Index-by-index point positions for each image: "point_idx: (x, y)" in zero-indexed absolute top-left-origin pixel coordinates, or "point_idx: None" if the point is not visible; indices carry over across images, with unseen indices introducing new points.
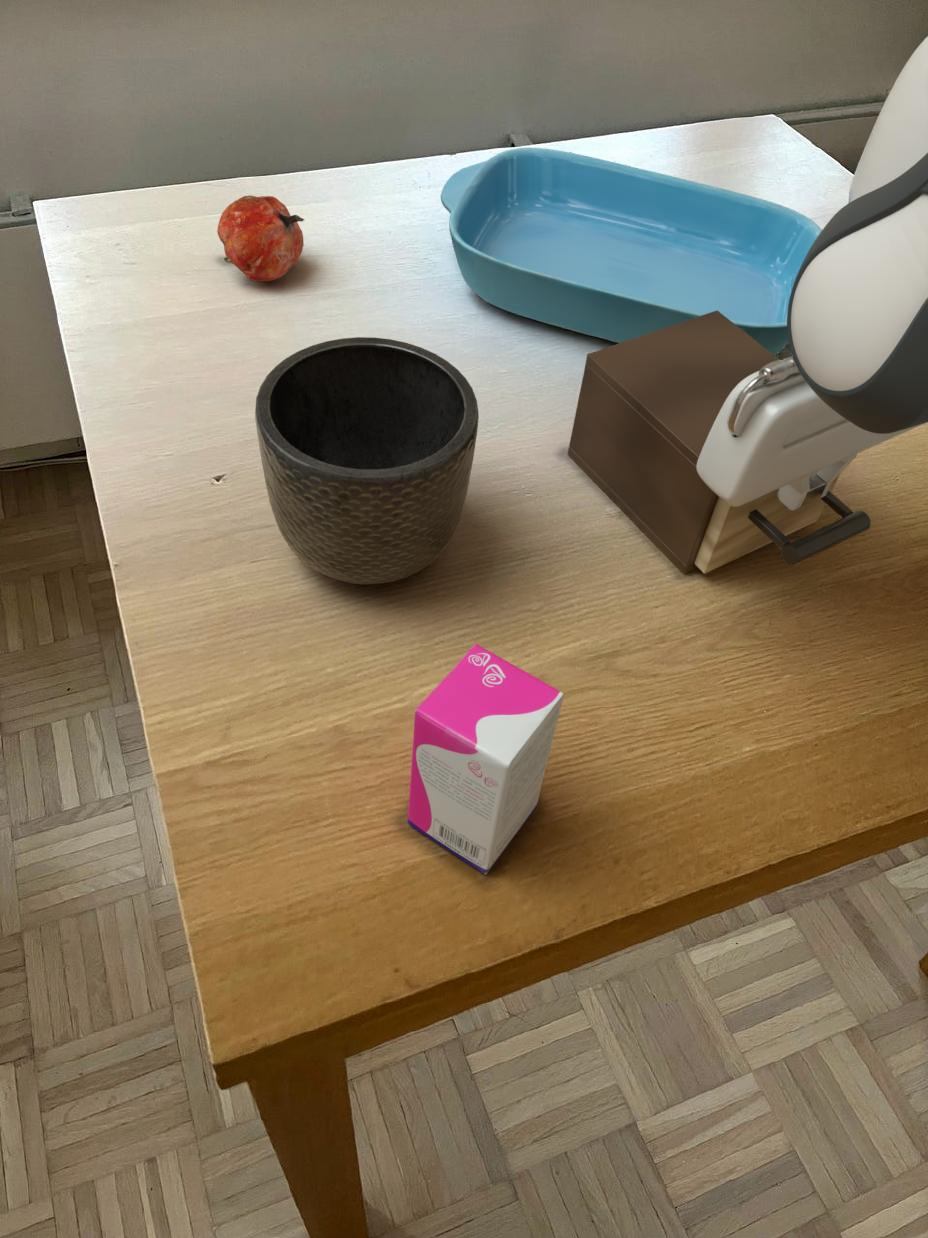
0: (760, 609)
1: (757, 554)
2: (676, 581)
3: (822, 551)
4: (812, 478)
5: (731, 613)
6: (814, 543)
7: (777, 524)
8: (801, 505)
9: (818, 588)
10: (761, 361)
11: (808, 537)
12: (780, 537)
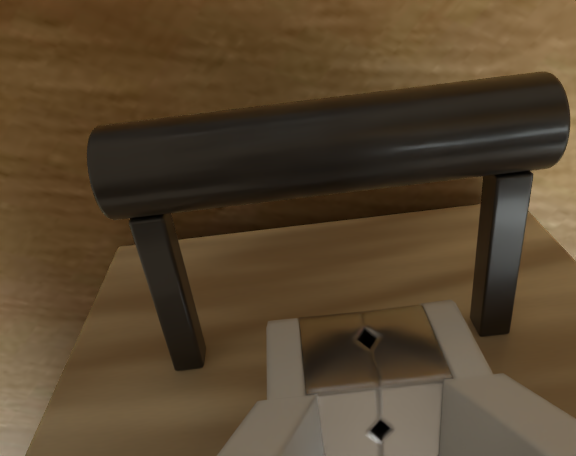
0: (436, 54)
1: (314, 210)
2: (549, 206)
3: (382, 91)
4: (360, 428)
5: (515, 73)
6: (452, 125)
7: (300, 266)
8: (425, 311)
9: (232, 56)
10: None
11: (455, 163)
12: (516, 207)
